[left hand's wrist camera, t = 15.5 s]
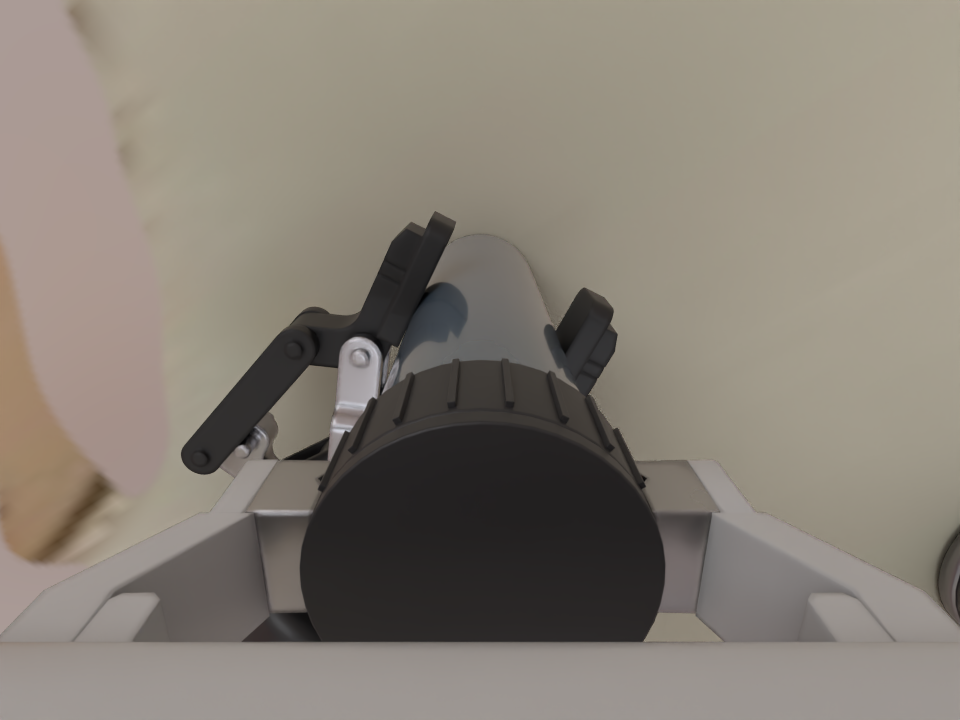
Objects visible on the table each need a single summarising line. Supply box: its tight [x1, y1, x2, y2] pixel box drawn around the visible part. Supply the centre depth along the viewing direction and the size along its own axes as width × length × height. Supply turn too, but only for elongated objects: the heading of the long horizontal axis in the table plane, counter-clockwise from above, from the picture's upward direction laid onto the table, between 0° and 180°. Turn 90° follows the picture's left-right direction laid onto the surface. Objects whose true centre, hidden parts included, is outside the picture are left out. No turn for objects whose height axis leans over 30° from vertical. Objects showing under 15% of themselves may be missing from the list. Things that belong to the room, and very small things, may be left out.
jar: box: [382, 234, 580, 394], centre depth 17 cm, size 4×4×17 cm
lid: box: [299, 358, 666, 642], centre depth 9 cm, size 5×5×2 cm
